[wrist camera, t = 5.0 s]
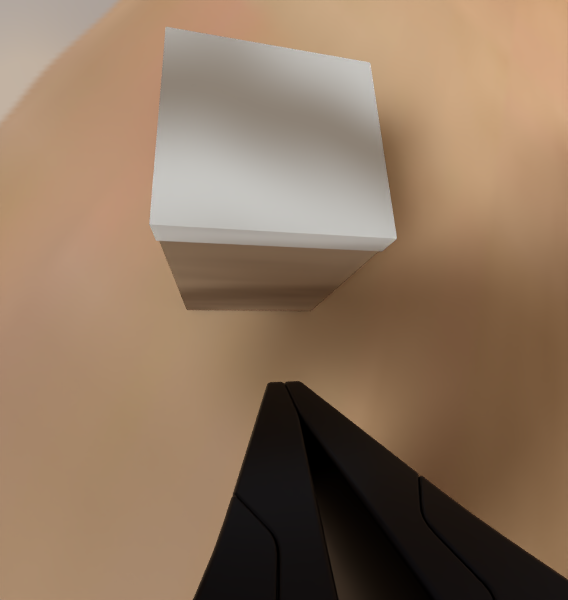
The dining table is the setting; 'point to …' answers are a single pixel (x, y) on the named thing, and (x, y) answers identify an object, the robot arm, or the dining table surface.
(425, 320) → the dining table surface
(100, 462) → the dining table surface
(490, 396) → the dining table surface
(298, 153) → the polished metal block
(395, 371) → the dining table surface
